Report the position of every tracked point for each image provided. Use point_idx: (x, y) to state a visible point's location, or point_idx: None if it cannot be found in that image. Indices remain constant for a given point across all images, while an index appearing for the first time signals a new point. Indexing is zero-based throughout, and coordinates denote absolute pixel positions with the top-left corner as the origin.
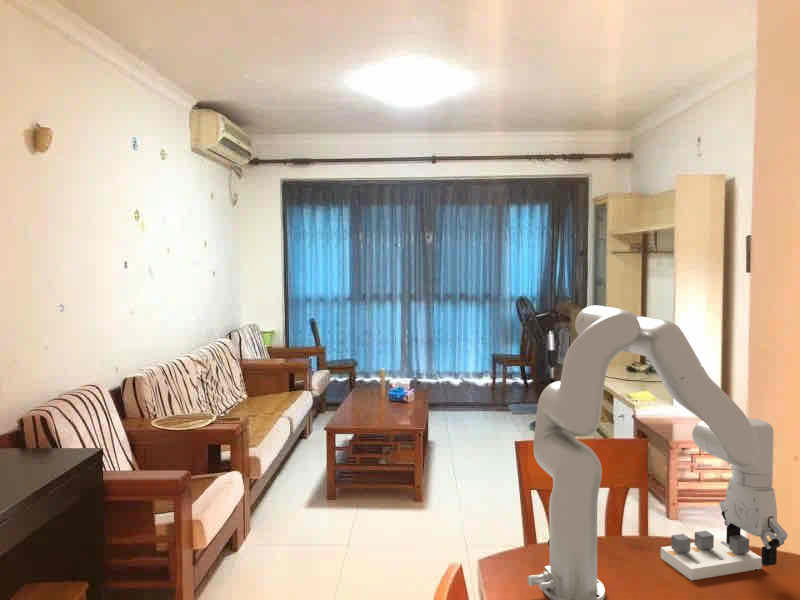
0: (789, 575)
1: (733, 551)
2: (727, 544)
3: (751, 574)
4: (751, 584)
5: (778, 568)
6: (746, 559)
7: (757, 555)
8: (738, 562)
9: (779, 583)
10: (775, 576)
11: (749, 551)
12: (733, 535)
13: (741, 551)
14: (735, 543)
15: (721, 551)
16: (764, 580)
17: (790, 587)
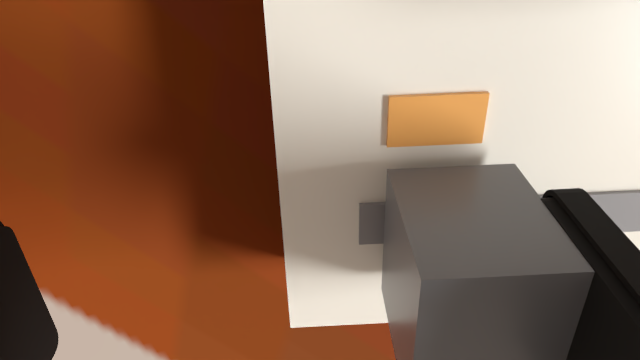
0: (175, 347)
1: (448, 167)
2: None
3: (225, 133)
4: (48, 5)
5: (271, 345)
6: (290, 192)
7: (332, 319)
8: (271, 79)
9: (69, 233)
10: (172, 270)
11: None
12: (578, 328)
13: (387, 229)
14: (451, 239)
15: (537, 61)
16: (119, 164)
17: None
